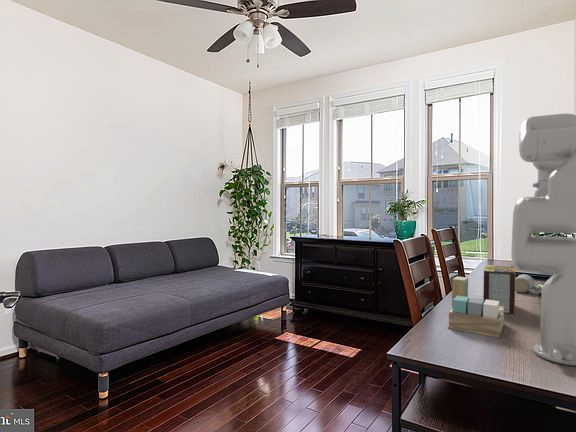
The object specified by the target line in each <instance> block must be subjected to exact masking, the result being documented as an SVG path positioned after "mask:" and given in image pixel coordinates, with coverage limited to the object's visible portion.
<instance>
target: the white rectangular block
mask: <svg viewBox="0 0 576 432" xmlns="http://www.w3.org/2000/svg"><path fill="white" fill-rule="evenodd" d="M483 317H486V318H492V319H498V318H499V301H494V300H487V299H486V300H485V302H484V304H483Z"/></svg>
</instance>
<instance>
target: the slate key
mask: <svg viewBox="0 0 576 432" xmlns="http://www.w3.org/2000/svg"><path fill="white" fill-rule="evenodd" d="M483 304H484V299H483V298H477V297H472V296H471V297H470V298H469V301H468V315H474V316H480V317H482V316H483Z"/></svg>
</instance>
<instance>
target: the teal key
mask: <svg viewBox="0 0 576 432" xmlns="http://www.w3.org/2000/svg"><path fill="white" fill-rule="evenodd" d="M469 300H470V296H468V297H464V296H456V297H455V298H454V299H453V312H455V313H461V314H468V301H469Z"/></svg>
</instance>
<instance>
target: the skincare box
mask: <svg viewBox="0 0 576 432" xmlns="http://www.w3.org/2000/svg"><path fill="white" fill-rule="evenodd" d="M451 290H452V291H451V292H452V293H451V294H452V297H451V299H452V300H451V309H452V308H453V299H454V298H455V297H456V296H464V297H469V277H466V276H465V277H464V276H454V277H453V278H452V289H451Z"/></svg>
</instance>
